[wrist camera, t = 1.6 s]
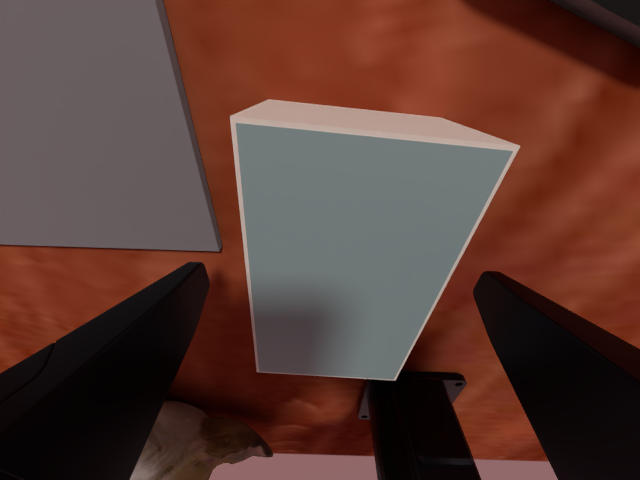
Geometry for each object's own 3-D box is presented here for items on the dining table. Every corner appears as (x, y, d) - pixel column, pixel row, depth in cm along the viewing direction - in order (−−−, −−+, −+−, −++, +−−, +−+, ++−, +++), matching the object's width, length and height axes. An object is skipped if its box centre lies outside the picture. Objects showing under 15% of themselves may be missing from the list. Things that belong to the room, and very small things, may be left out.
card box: (377, 302, 13) (395, 381, 10) (274, 295, 13) (256, 372, 9) (438, 116, 8) (520, 146, 5) (270, 98, 8) (229, 116, 4)
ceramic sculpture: (-52, 597, 7) (268, 574, 15) (125, 336, 14) (283, 411, 22) (-132, 587, 11) (161, 572, 19) (41, 381, 18) (203, 432, 26)
